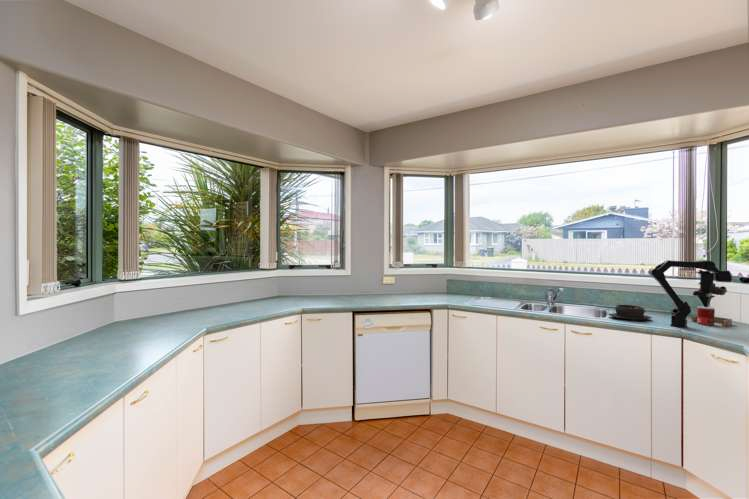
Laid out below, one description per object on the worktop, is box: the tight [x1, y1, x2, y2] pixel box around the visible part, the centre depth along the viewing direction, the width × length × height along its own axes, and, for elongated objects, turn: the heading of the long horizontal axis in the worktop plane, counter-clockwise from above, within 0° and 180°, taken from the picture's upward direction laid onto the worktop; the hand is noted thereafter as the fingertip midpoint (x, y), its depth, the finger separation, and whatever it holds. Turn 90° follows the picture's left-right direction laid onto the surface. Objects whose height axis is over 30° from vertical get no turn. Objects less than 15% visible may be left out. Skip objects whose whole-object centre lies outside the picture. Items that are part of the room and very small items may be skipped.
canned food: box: [696, 305, 716, 327], centre depth 220 cm, size 8×8×11 cm
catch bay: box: [691, 314, 733, 328], centre depth 223 cm, size 12×16×4 cm
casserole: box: [608, 304, 653, 321], centre depth 236 cm, size 25×19×8 cm
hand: (706, 307), depth 209 cm, fingers closed
